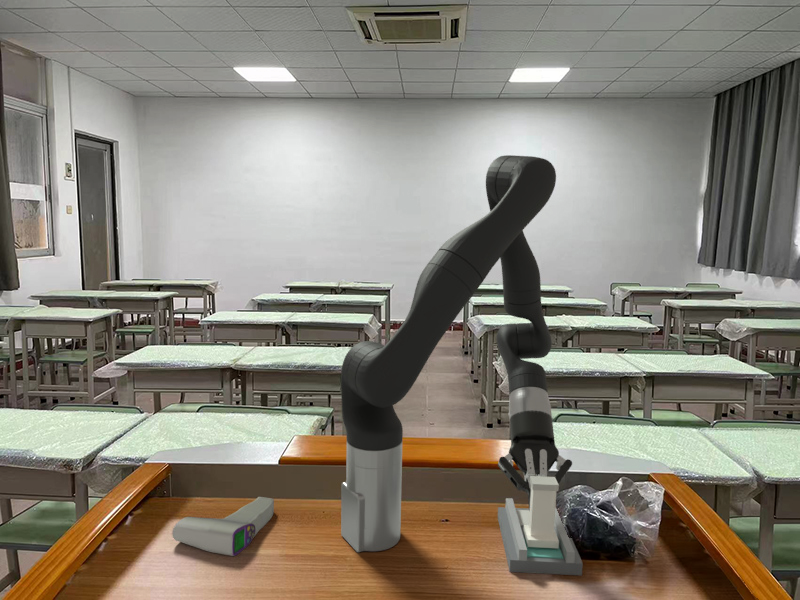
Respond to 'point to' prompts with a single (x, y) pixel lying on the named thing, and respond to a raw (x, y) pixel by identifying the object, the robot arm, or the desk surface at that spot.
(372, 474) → the robot arm
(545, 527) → the switch tab
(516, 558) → the switch panel
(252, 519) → the infrared thermometer
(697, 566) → the desk surface
